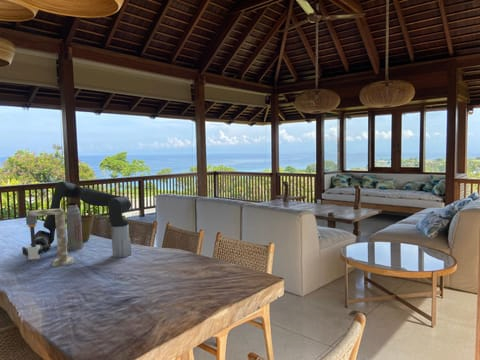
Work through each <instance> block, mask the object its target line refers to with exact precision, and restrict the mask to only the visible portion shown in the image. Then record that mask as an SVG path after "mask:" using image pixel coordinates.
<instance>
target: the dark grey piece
mask: <svg viewBox="0 0 480 360" xmlns="http://www.w3.org/2000/svg"><path fill="white" fill-rule="evenodd" d="M25 221H26V222H25V223H26V225H27V226H28V228H29V232H30V245H32V247H36V243H35V234H36V231H35V230H36V229H35V227H36V226H37V224H38V216H29V217H28V215H27V216H26V217H25ZM39 259H40V257H39V258H38V259H30V262H31V263H37V262H39Z"/></svg>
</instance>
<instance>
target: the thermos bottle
mask: <svg viewBox="0 0 480 360" xmlns="http://www.w3.org/2000/svg"><path fill="white" fill-rule="evenodd" d="M67 205H68V206H67V207H68V208H67V209H66V213H65V223H66V238H67V251H77V250H81V249H83V248H84V245H83V243H84V242H82V226H81V214H82V213H81V211H80V208H79V207H78V202H70V203H68V204H67Z"/></svg>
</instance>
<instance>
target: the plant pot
mask: <svg viewBox="0 0 480 360" xmlns="http://www.w3.org/2000/svg"><path fill="white" fill-rule="evenodd" d="M93 224H94V215H91V214H84V215H83V214H82V215H81V226H82V242H83V243H85V242H88V241H89V239H90V236H91V233H92V230H93Z"/></svg>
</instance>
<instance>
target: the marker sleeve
mask: <svg viewBox="0 0 480 360" xmlns="http://www.w3.org/2000/svg"><path fill="white" fill-rule="evenodd" d="M27 248H28V256H27V257H28V258H27V259H28V260H31V259H38V258H39V259H40V257H41V254H40V255H38V250H39V249H40V245H36V247H32V246H30V245H29V246H27Z"/></svg>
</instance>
